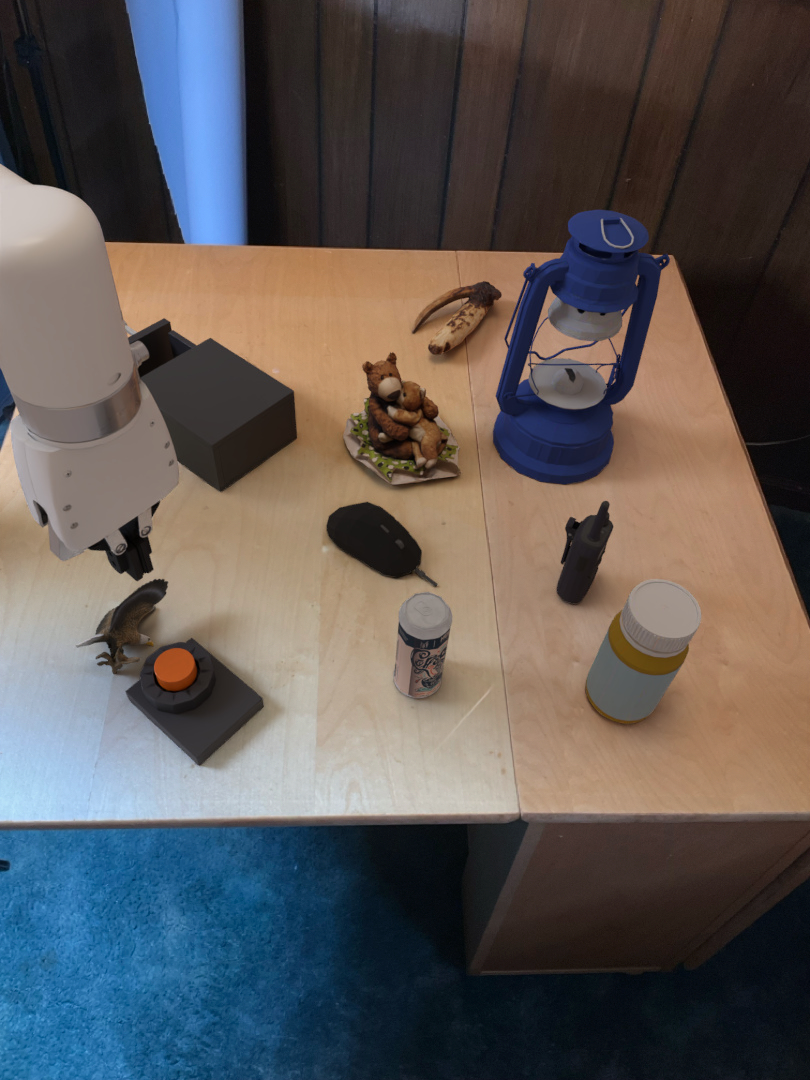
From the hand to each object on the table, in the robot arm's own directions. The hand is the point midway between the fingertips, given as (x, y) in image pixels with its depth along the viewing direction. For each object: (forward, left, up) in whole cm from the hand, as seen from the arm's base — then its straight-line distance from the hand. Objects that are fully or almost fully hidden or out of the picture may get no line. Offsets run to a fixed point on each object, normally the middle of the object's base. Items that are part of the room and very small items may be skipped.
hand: (133, 566), depth 65 cm
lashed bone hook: (-14, +64, -17) cm, 67 cm away
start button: (+3, 0, -14) cm, 14 cm away
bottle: (+35, +28, -17) cm, 47 cm away
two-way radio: (+24, +36, -17) cm, 46 cm away
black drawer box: (-21, +26, -17) cm, 37 cm away
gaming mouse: (+6, +26, -17) cm, 31 cm away
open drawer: (-33, +26, -16) cm, 45 cm away
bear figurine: (-3, +40, -17) cm, 43 cm away
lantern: (+10, +54, -17) cm, 57 cm away
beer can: (+19, +16, -17) cm, 30 cm away
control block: (+5, 0, -17) cm, 17 cm away
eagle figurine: (-5, 0, -17) cm, 18 cm away
